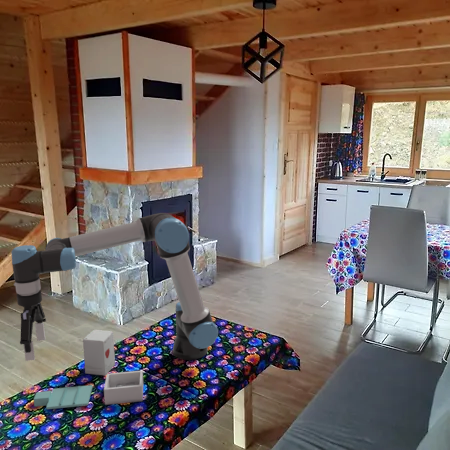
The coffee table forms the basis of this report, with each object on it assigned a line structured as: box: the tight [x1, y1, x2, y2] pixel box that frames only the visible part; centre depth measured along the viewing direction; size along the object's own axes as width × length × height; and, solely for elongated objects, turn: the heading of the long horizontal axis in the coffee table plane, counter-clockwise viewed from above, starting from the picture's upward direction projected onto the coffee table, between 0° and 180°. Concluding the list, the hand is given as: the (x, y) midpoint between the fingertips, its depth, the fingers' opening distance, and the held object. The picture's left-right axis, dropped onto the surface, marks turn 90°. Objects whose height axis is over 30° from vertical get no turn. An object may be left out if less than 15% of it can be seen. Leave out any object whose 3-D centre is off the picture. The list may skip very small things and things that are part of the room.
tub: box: [103, 370, 144, 406], centre depth 154 cm, size 13×10×6 cm
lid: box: [33, 384, 93, 410], centre depth 151 cm, size 19×11×3 cm, turn 99°
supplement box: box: [82, 329, 116, 377], centre depth 170 cm, size 9×9×15 cm
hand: (36, 349), depth 146 cm, fingers open, 13 cm apart
